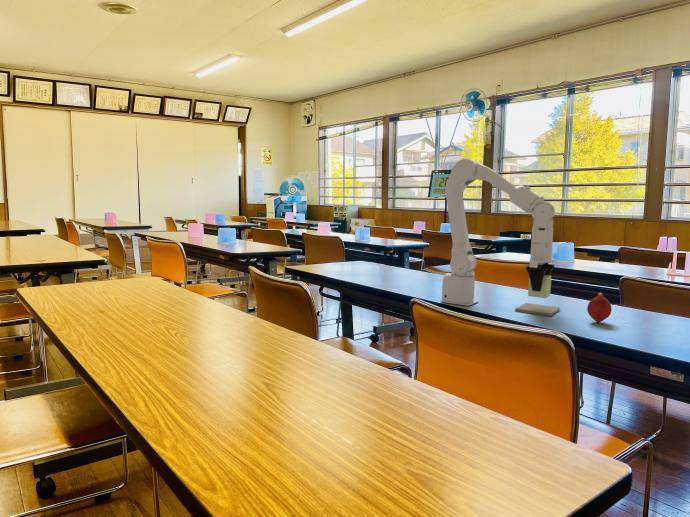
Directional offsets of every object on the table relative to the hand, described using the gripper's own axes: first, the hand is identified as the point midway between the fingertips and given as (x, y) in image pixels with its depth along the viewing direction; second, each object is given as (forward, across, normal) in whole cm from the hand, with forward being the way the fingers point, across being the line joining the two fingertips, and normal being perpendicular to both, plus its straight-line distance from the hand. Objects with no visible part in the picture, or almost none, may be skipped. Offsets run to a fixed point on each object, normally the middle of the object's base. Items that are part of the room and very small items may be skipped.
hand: (539, 289), depth 148 cm
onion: (+6, -4, -17) cm, 19 cm away
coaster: (+6, 0, 0) cm, 6 cm away
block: (+2, 0, 0) cm, 2 cm away
